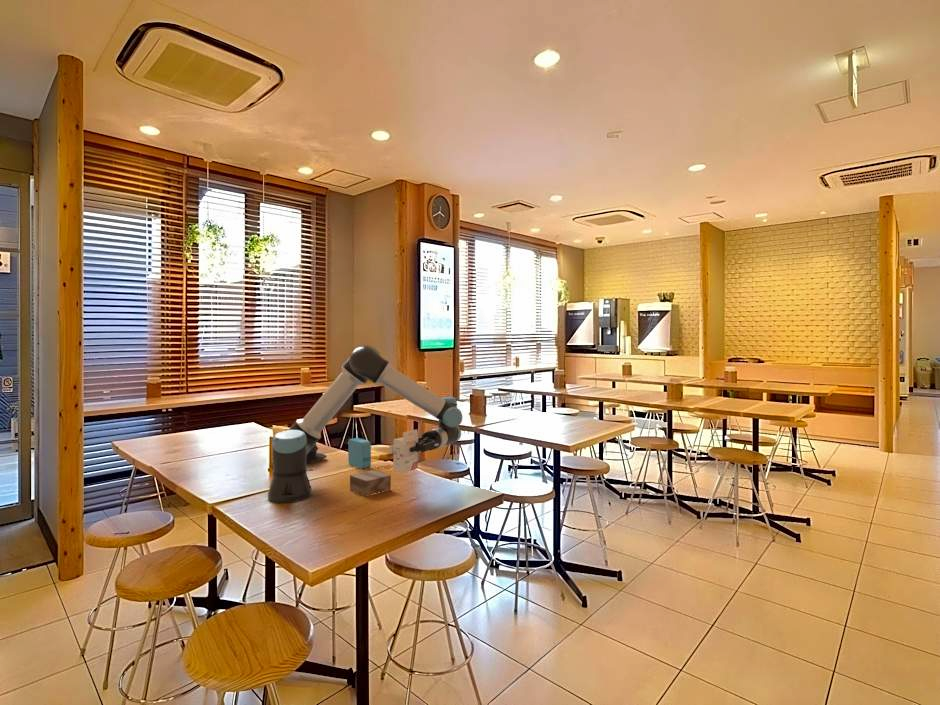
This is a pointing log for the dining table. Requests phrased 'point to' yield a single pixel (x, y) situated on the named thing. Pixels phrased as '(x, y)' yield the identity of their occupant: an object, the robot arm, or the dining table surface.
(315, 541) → the dining table surface
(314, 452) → the casserole
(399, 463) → the ink cartridge box
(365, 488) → the walnut block
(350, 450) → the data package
